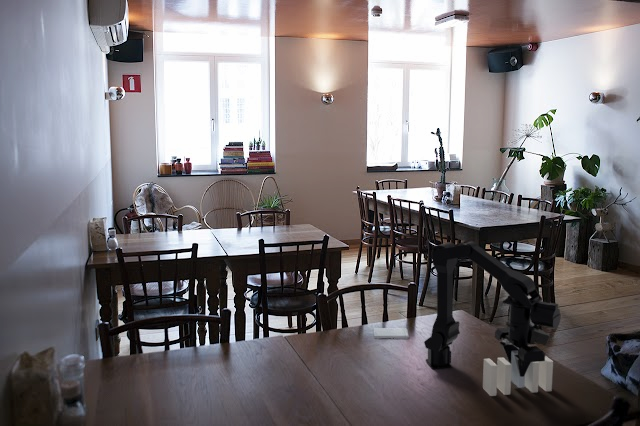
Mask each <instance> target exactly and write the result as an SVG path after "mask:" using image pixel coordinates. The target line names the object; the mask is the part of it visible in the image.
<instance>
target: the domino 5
mask: <svg viewBox="0 0 640 426" xmlns="http://www.w3.org/2000/svg"><path fill="white" fill-rule="evenodd" d="M553 369H554V361H553V360H552V359H551V358H549V357H548V356H547V355H545V361H539V381H538V387H540V388H541V389H543V390H544V391H545V392H552V391H553V390H552V389H553V371H554V370H553Z"/></svg>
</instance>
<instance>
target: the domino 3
mask: <svg viewBox="0 0 640 426" xmlns="http://www.w3.org/2000/svg"><path fill="white" fill-rule="evenodd" d="M514 355H518V351H517V350H516V351H511V365H512V366H511V383H513V384H514V385H515V386H516V387H517V388H520V389H521V388H526V387H525V376H524V377H521V376H520V374H519V371H518V368H517V364H516V360H515V357H514Z"/></svg>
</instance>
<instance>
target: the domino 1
mask: <svg viewBox="0 0 640 426" xmlns="http://www.w3.org/2000/svg"><path fill="white" fill-rule="evenodd" d="M482 367H483V368H482V369H483V371H482V373H483V374H482V388H483V390H484V391H485V392H486V393H487V394H488V395H489V396H490V397H496V396H497V391H498V390H497V389H498V388H497V363H495V362H494V361H493V360H492V359H491V358H483V366H482Z"/></svg>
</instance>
